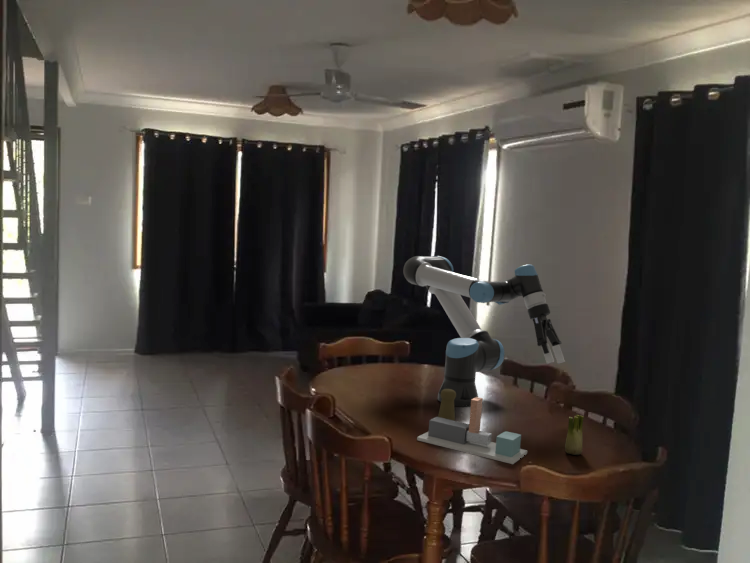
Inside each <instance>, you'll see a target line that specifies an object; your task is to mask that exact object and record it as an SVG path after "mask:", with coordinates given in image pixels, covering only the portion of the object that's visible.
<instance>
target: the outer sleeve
mask: <svg viewBox="0 0 750 563" xmlns="http://www.w3.org/2000/svg"><path fill="white" fill-rule="evenodd" d="M428 421H429V422H428V431H429V432H428V431H427V432H428V436H431V437H435V438H439V439H443V440H447V441H451V442H456V443H460V444H465V443H467V442H469V441H465V433H466V429H468V428H469V423H466V422H462V421H457V420H455V421H453V420H449V419H445V418H440V417H438V416H435V417H433V418H431V419H429V420H428Z"/></svg>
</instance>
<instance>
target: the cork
mask: <svg viewBox="0 0 750 563" xmlns="http://www.w3.org/2000/svg"><path fill="white" fill-rule="evenodd" d="M455 397H456V392H455V391H454V390H452V389H443V390H442V391H441V398H442V401H441V402H440V407H439V410H438V416H437V417H440V418H445V419H449V420H453V421H456V416H455V406H454V399H455Z"/></svg>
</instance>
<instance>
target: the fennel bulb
mask: <svg viewBox="0 0 750 563" xmlns="http://www.w3.org/2000/svg"><path fill="white" fill-rule="evenodd" d="M584 418H585V416H584V415H581V414H580V415H579V414H575V415H574V418H573V417H572V416H569V417H568V425H567V426H568V427H567V434H566V439H565V445H564V451H565V453H567V454H569V455H572V456H580V455H582V453H583V442H584V441H583V424H584V420H585V419H584Z"/></svg>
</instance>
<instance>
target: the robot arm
mask: <svg viewBox="0 0 750 563" xmlns="http://www.w3.org/2000/svg"><path fill="white" fill-rule="evenodd" d="M402 269H403V276H404V278H405V279H406V281H407V282H408V283H409V284H411V285H416V286H419V287H426V289H427V291H428V292H429V294H432V295H433V294H434V295H435V297H436V298H437V300H438V301H439V303H440V305H441V306H442V308H443V310H444V311H445V313H446V315H447V316H448V319H449V320H450V322H451V324H452V325H453V327H454V328H455V330H456V332H457V334H458V335H459V337H457V338H453V339H450V340H449V341H448V342H447V344H446V350H445V360H444V361H445V362H444V363H445V364H444V375H443V380H442V383H441V386H440V388H439V390H438V394H437V401H439V402H440V403H441V401H442V398H441V391H442V390H443V389H452V390H454V391H455V392H456V397H455V399H454V407H471V399H473V398H476V397H479V393H478V391H477V387H476V375H477V373H478V372H479V373H480V372H485V371H493V370H495V369H497V368H500V366H501V365H502V363H503V362H504V361H505V360H504V359H505V358H504V357H505V348H504V346H503V344H502V342H501V341H499V340H498V339H496V338H492V336H491V335H490V333H489V332H488V331H487V330H484V329H483V328H481V326H480V325H479V323H478V321H477V320H476V319H475V317H474V315H473V313H472V312H471V310H470V309H469V307H468V304H466V302H465V301H464V299H463V297H467V298H470V299H472V300H473V302H475V303H481V304H486V303H495V304H498V305H499V306H500V305H501V306H502V305H505V304H508V303H510V302H511V301H513V300H516V299H518V298H520V297H522V298H523V301H524V306H525V308H526V309H527V314H528V316H529V319H530V320H532V322H533V324H534V330H535V338H536V342H537V346H538V347H540V349H541V351H542V354H543V358H544V359H545V363H546V365H548V364H551V363H554V362H555V360H556V363H557V364H561V363H564V362H566V360H565V356H564V353H563V351H562V348H561V344H562V341H561V340H560V338H559V336H558V334H557V332H556V330H555V327H554V326H553V324H552V320H551V319H550V318H547V316H549V315H550V314H551V310H550V308H549V304H547V300H546V296H547V294H546V293H544V290H543V287H542V285H541V281H540V279H539V274H538V272H537V270H536V268H535V265H533V264H523V265H520V266H519V267H517V268H515V270H514V276H513V277H511V278H509V279H507V280H503V281H501V280H499V281H498V280H496V281H487V280H485V279H484V280H483V279H479V278H476V277H473V276H468V275H464V274H460V273H458V272H454V266H453V263H451V261H450V260H449V259H448V258H446V257H444V256H440V255H432V256H431V255H430V256H425V255H424V256H423V255H421V256H420V255H416V256H413V257H411V258H409V259H408V260H407V261H406V262H404V266H403V268H402ZM462 296H463V297H462ZM548 340H549V342H550V344H551V346H550V344H549V343H548ZM551 348H552V350H551ZM552 351H553V353H552ZM553 354H554V356H553ZM554 357H555V359H554Z"/></svg>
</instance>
